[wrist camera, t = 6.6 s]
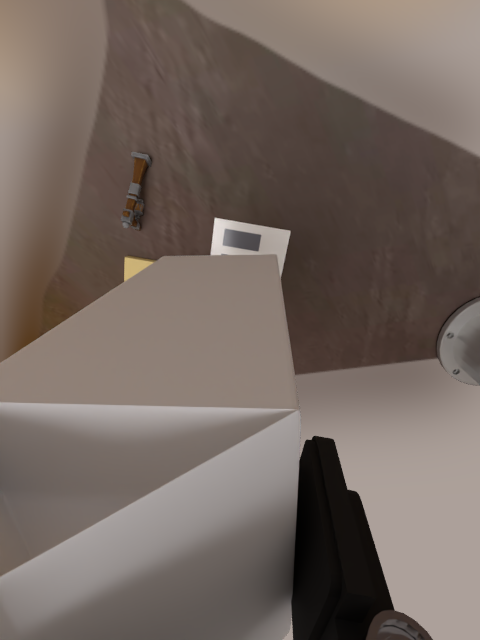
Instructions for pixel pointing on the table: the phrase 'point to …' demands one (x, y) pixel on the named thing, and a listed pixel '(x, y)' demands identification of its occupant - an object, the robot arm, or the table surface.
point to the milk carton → (154, 462)
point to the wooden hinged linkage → (135, 192)
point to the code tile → (249, 240)
